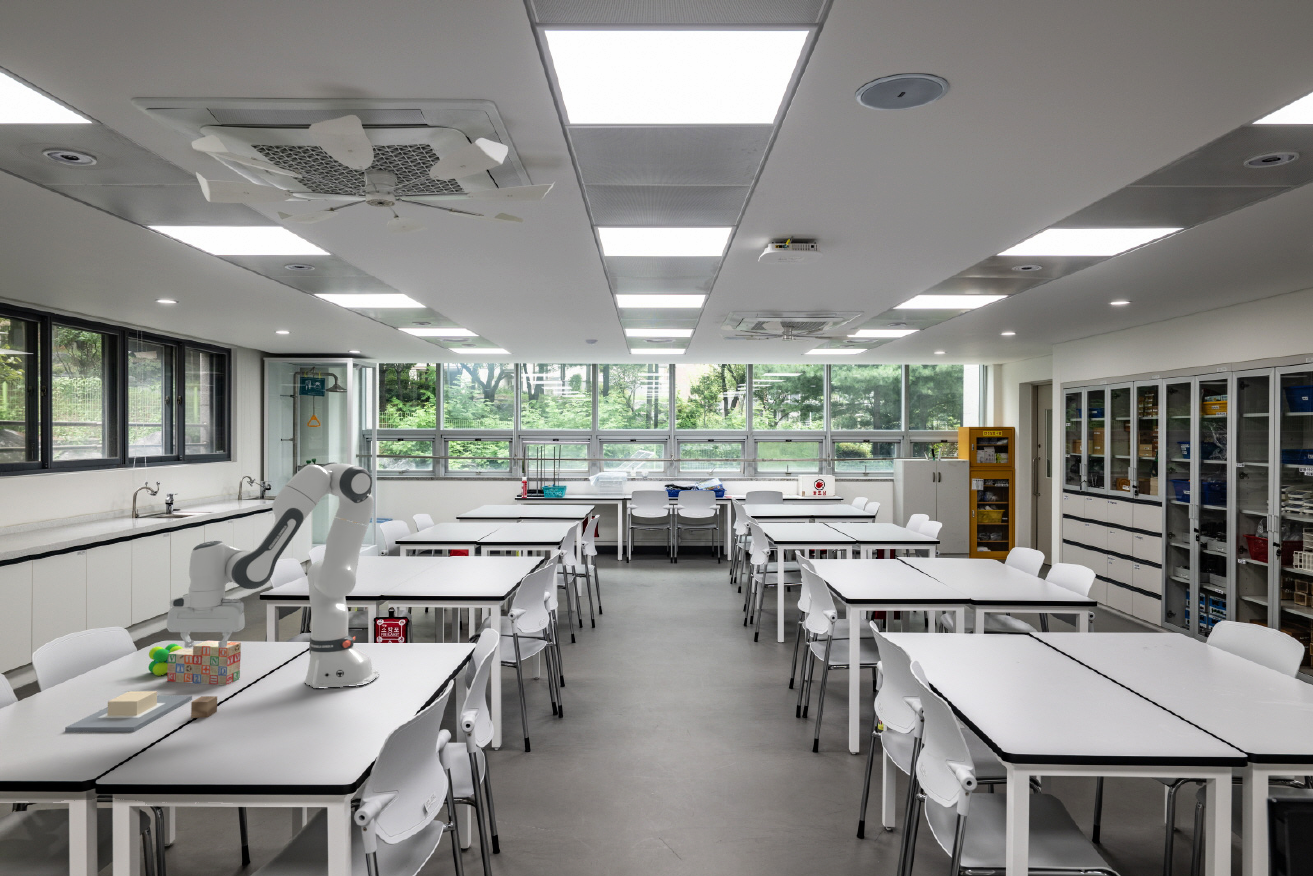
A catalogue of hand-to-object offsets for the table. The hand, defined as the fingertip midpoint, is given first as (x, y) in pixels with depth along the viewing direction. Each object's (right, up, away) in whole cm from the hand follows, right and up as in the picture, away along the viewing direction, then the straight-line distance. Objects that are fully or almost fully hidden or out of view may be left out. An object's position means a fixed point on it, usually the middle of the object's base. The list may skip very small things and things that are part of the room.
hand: (205, 647), depth 196 cm
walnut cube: (0, -19, 0) cm, 19 cm away
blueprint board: (-20, -19, -1) cm, 28 cm away
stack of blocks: (-20, -20, +29) cm, 40 cm away
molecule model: (-37, -20, +36) cm, 56 cm away
